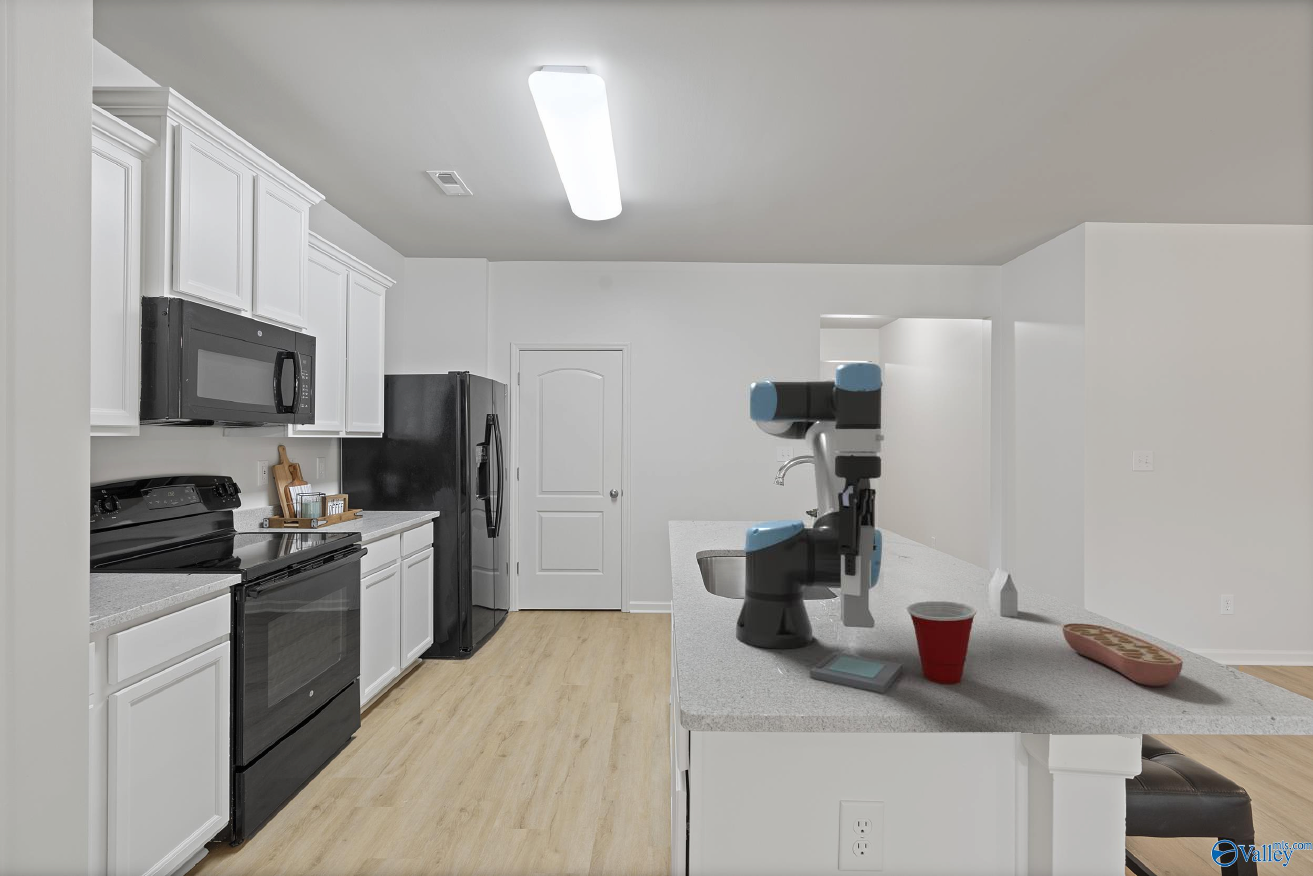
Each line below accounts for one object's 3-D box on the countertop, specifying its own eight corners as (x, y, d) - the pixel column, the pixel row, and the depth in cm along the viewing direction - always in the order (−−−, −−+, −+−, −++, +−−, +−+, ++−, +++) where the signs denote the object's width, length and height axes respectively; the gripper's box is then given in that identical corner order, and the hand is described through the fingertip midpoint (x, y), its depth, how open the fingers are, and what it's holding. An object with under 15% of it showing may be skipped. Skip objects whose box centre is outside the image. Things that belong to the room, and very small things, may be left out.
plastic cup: (897, 666, 115) (897, 598, 115) (959, 667, 114) (959, 599, 114) (919, 690, 104) (919, 614, 104) (988, 691, 103) (988, 616, 103)
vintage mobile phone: (874, 628, 108) (875, 478, 109) (843, 627, 109) (844, 478, 109) (870, 622, 112) (870, 477, 112) (840, 621, 113) (841, 477, 113)
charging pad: (810, 677, 109) (810, 669, 109) (833, 658, 119) (833, 650, 119) (883, 693, 102) (883, 685, 102) (902, 671, 112) (902, 663, 112)
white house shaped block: (1000, 617, 147) (1000, 573, 147) (988, 610, 154) (988, 567, 154) (1017, 618, 147) (1017, 574, 147) (1005, 610, 153) (1005, 568, 153)
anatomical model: (1051, 648, 126) (1052, 623, 126) (1103, 649, 126) (1103, 623, 126) (1139, 695, 103) (1139, 663, 103) (1202, 695, 103) (1202, 664, 103)
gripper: (864, 455, 101) (863, 605, 101) (894, 454, 116) (893, 584, 116) (817, 454, 105) (816, 598, 105) (852, 453, 120) (851, 579, 120)
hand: (857, 590), depth 111 cm, fingers closed on vintage mobile phone, 5 cm apart
